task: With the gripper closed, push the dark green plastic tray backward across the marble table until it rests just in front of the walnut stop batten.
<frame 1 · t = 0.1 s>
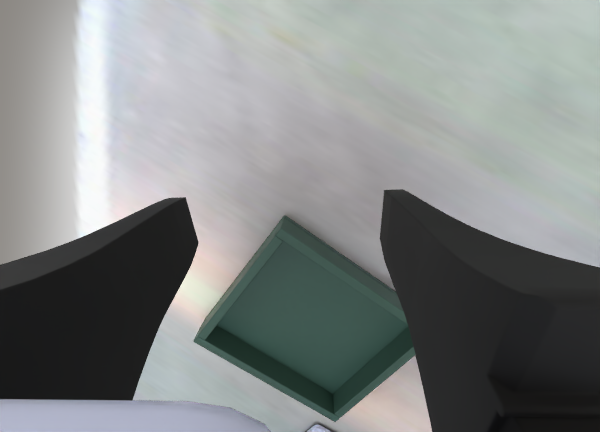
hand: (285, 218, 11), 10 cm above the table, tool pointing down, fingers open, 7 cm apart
tray: (312, 316, 25), on the table
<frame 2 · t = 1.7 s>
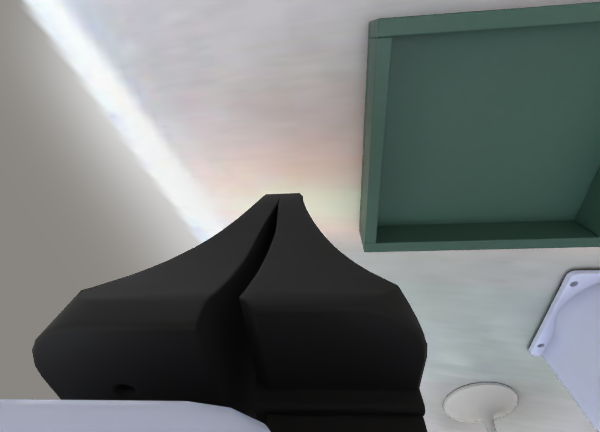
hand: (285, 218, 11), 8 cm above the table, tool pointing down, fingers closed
wineglass: (478, 400, 31), on the table
tray: (487, 138, 17), on the table
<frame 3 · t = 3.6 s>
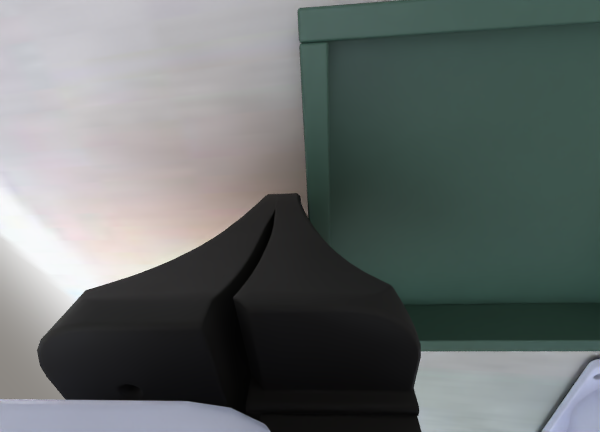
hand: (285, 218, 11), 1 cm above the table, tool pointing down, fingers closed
tray: (495, 193, 12), on the table, touching gripper
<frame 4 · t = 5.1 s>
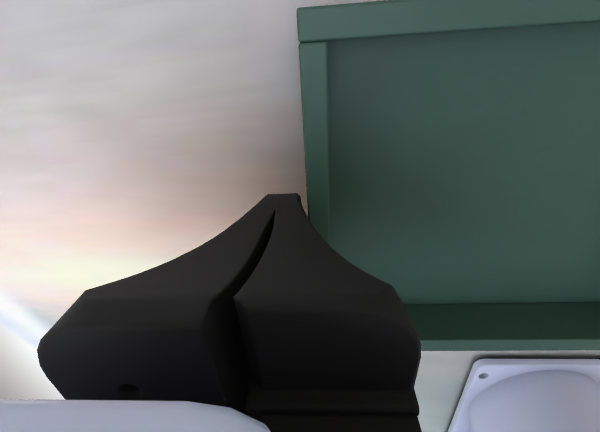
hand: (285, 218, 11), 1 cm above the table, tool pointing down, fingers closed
tray: (495, 192, 12), on the table, touching gripper
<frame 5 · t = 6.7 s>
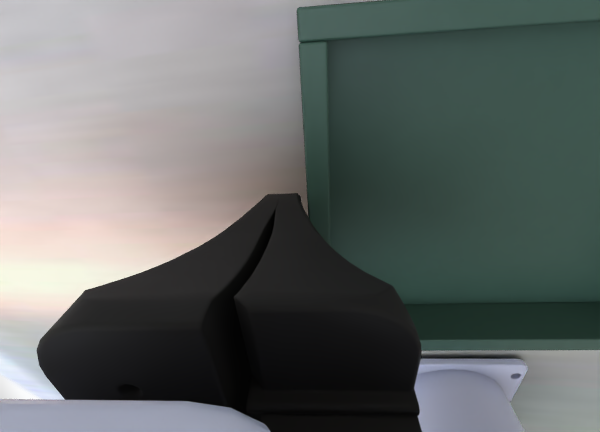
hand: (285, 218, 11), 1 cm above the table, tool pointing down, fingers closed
tray: (495, 192, 12), on the table, touching gripper
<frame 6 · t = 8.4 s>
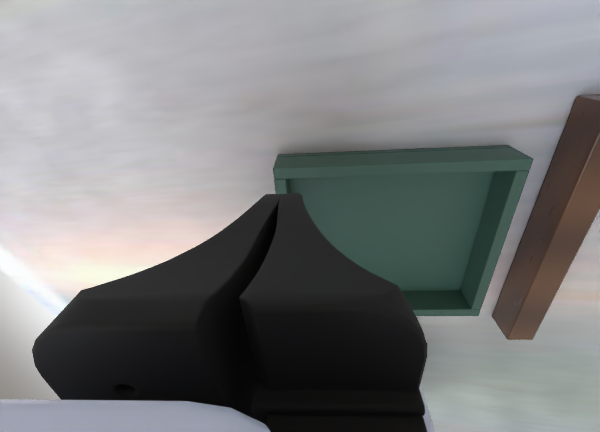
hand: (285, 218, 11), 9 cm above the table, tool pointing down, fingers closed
tray: (382, 231, 22), on the table
stop batten: (539, 228, 21), on the table
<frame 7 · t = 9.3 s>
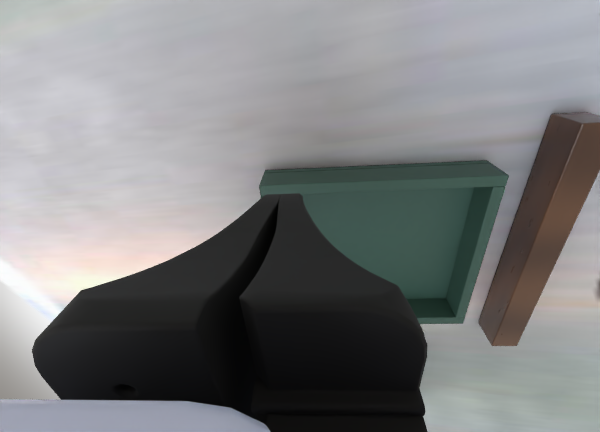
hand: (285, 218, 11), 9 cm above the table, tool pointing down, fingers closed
tray: (368, 242, 23), on the table
stop batten: (521, 239, 22), on the table
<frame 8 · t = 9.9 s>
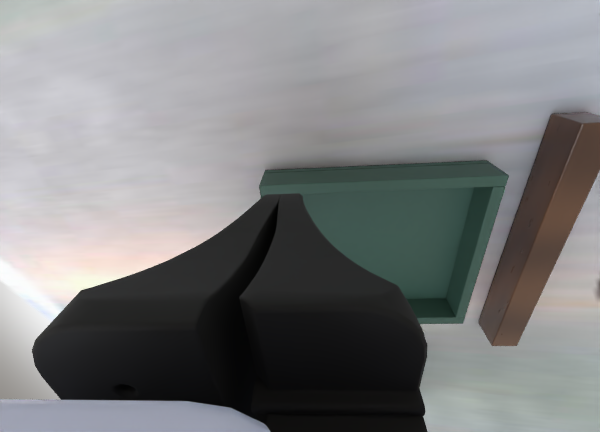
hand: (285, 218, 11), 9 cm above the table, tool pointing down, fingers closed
tray: (368, 242, 23), on the table
stop batten: (521, 239, 22), on the table
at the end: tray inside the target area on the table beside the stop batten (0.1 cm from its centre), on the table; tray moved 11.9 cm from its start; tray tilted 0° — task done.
